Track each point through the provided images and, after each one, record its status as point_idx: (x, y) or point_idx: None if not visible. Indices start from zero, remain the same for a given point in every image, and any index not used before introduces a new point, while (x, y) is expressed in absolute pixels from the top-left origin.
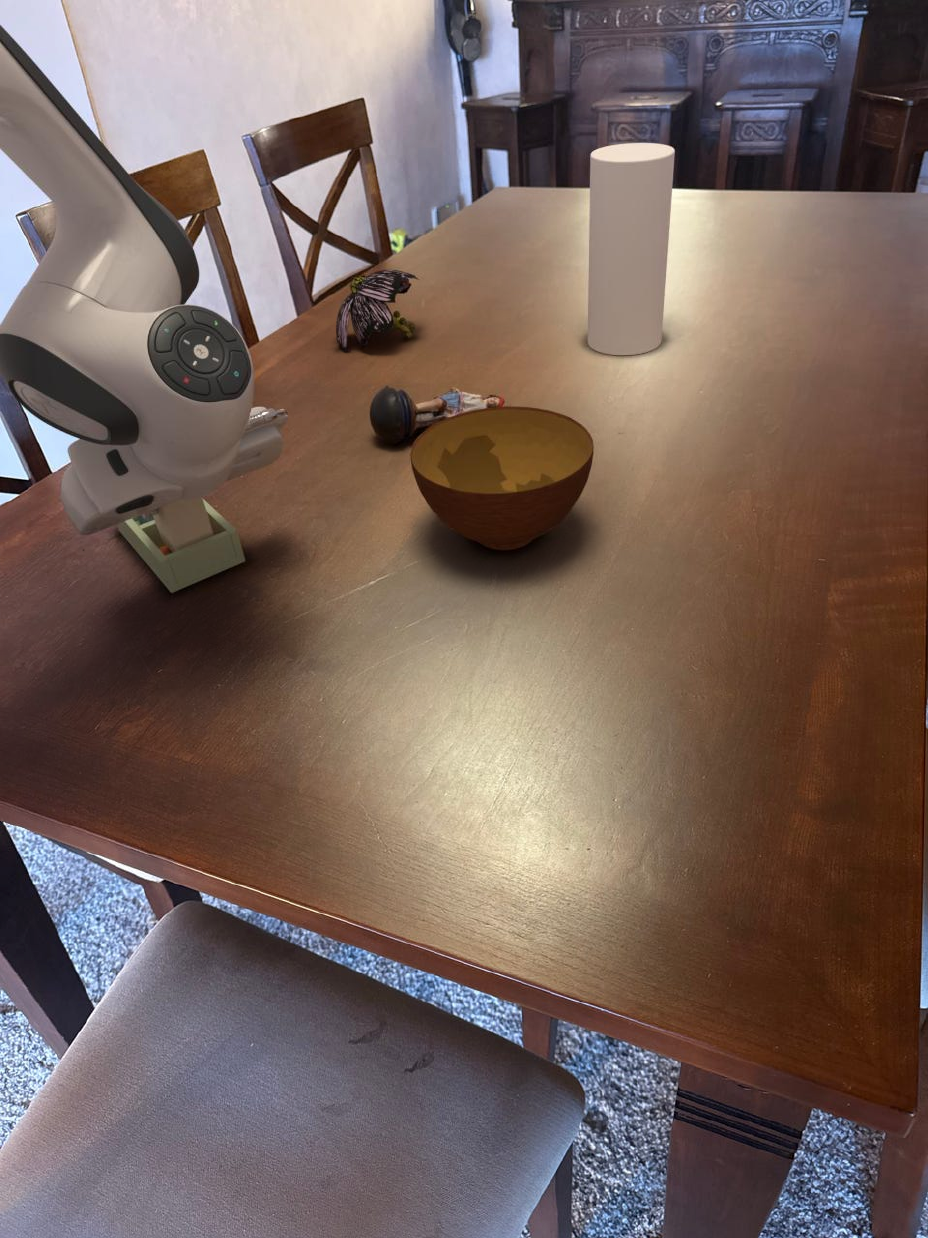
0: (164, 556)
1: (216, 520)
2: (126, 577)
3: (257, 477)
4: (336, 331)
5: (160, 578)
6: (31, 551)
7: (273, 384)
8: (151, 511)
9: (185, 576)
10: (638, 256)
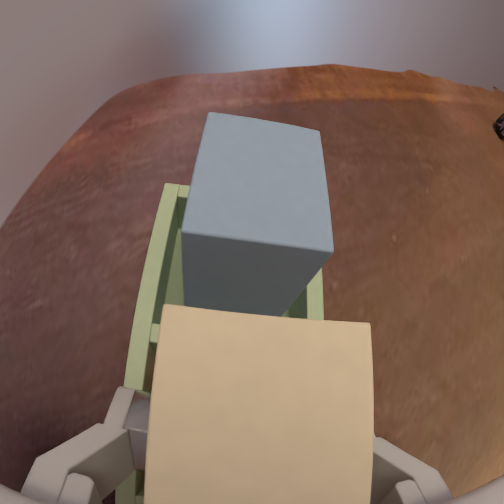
0: (132, 496)
1: None
2: (95, 370)
3: (411, 258)
4: (501, 119)
5: None
6: (61, 177)
7: (448, 119)
8: (132, 472)
9: None
10: None
